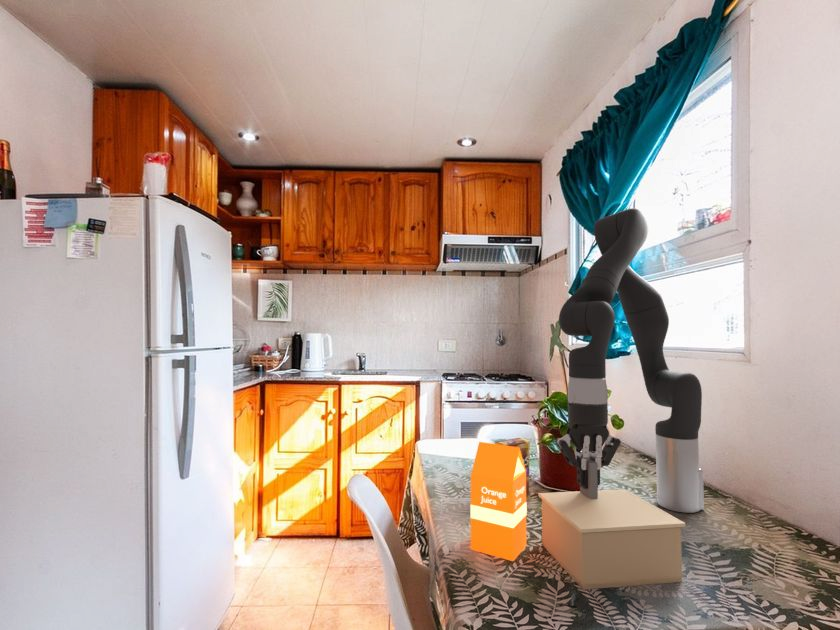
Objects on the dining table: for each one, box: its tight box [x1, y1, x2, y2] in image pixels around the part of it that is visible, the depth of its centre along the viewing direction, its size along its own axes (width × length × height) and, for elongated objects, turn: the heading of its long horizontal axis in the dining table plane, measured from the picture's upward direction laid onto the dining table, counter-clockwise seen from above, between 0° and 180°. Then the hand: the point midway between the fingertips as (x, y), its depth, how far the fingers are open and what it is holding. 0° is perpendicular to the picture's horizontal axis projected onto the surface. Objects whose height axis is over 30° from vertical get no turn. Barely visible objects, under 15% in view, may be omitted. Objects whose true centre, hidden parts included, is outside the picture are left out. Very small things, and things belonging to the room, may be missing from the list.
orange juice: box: [470, 441, 528, 562], centre depth 87 cm, size 8×9×20 cm
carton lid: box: [537, 457, 686, 533], centre depth 82 cm, size 19×17×8 cm
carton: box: [541, 499, 683, 590], centre depth 81 cm, size 18×16×9 cm
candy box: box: [494, 437, 531, 502], centre depth 111 cm, size 9×4×15 cm, turn 123°
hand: (588, 487), depth 88 cm, fingers closed
